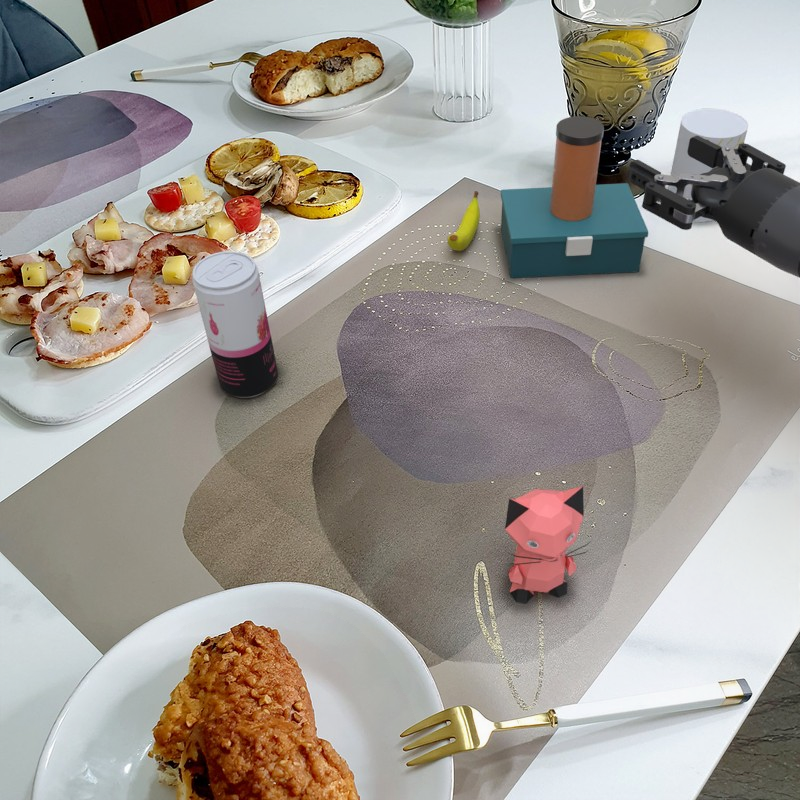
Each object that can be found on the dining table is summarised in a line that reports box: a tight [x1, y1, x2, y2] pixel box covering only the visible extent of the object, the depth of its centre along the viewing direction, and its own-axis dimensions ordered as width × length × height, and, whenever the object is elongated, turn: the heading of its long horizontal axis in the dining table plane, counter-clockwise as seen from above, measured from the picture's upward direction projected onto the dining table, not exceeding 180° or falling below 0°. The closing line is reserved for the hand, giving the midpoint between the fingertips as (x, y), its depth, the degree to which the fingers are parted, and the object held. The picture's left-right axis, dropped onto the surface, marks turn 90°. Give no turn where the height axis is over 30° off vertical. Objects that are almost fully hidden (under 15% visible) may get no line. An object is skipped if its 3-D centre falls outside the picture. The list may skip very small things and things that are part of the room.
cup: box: [667, 107, 749, 223], centre depth 113 cm, size 8×8×12 cm
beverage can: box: [192, 250, 279, 399], centre depth 90 cm, size 7×7×15 cm
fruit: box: [446, 190, 481, 252], centre depth 111 cm, size 10×2×5 cm, turn 159°
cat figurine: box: [504, 486, 593, 604], centre depth 71 cm, size 7×7×12 cm
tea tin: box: [550, 115, 605, 221], centre depth 103 cm, size 5×5×11 cm
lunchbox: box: [500, 182, 649, 279], centre depth 109 cm, size 16×12×6 cm
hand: (661, 156), depth 91 cm, fingers open, 8 cm apart
